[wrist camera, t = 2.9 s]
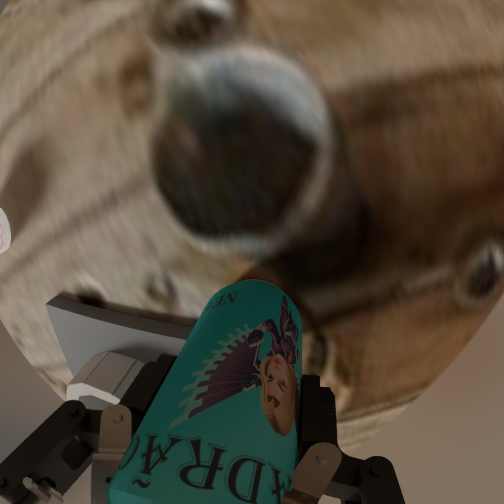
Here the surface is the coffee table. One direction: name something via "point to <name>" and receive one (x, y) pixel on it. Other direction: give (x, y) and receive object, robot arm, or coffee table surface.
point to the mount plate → (108, 348)
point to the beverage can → (223, 408)
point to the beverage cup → (4, 232)
